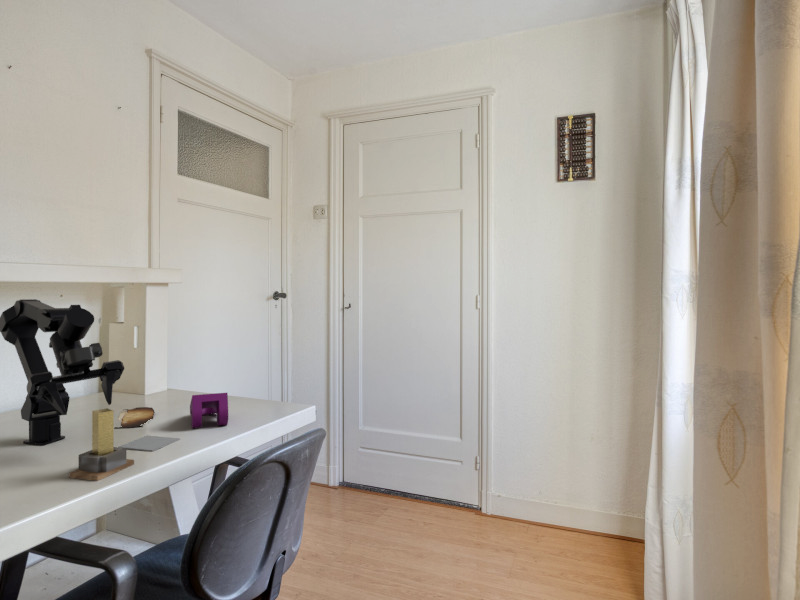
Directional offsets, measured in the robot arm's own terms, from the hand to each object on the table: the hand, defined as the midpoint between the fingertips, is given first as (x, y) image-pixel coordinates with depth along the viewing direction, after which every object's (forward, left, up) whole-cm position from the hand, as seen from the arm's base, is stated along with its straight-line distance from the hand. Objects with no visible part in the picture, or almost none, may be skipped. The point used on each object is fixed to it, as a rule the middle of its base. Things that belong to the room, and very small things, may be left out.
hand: (88, 408), depth 113 cm
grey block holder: (+8, -4, -12) cm, 15 cm away
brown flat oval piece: (-17, +35, -12) cm, 41 cm away
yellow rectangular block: (+8, -4, -12) cm, 15 cm away
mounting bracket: (+6, +37, -12) cm, 40 cm away
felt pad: (+5, +14, -12) cm, 19 cm away
